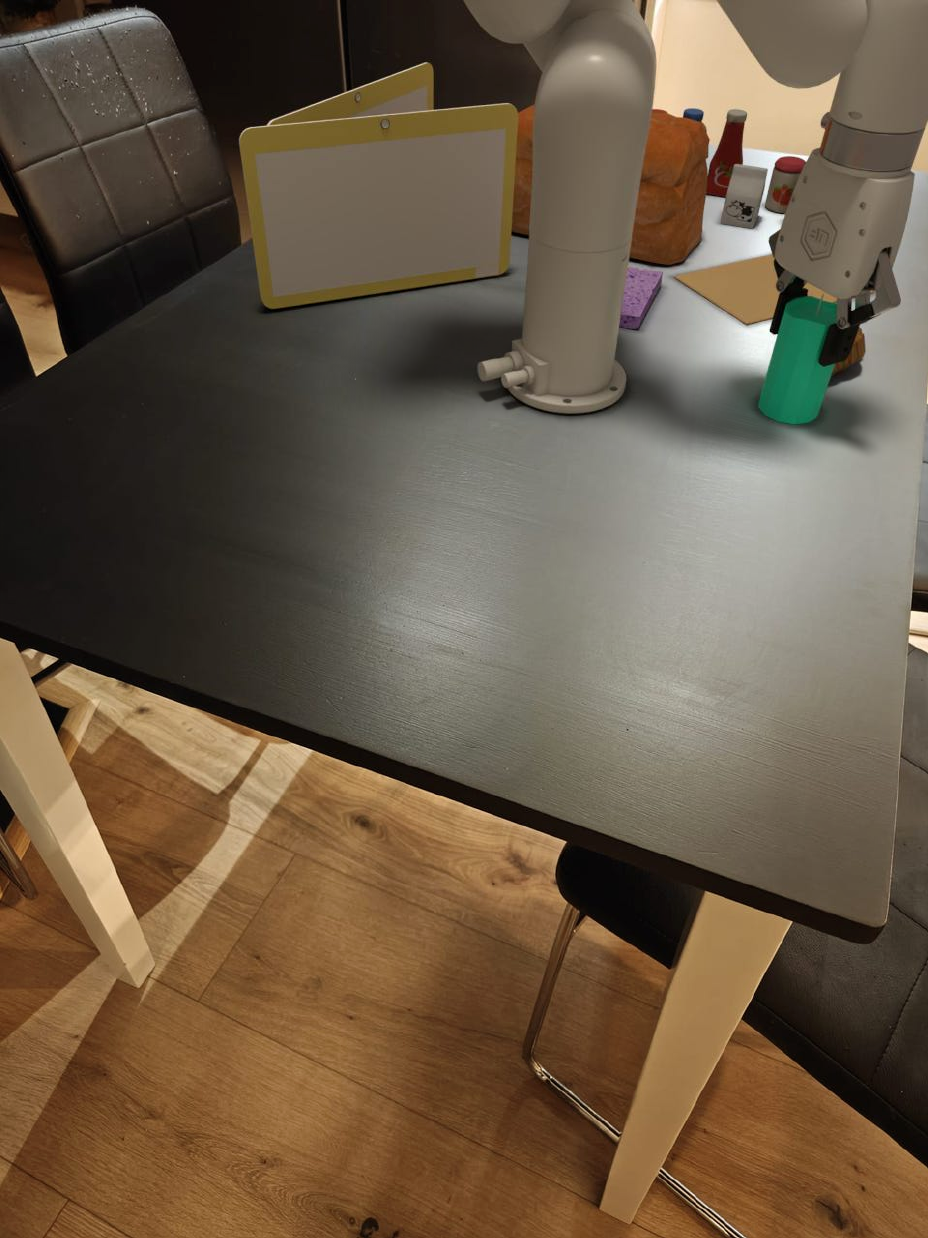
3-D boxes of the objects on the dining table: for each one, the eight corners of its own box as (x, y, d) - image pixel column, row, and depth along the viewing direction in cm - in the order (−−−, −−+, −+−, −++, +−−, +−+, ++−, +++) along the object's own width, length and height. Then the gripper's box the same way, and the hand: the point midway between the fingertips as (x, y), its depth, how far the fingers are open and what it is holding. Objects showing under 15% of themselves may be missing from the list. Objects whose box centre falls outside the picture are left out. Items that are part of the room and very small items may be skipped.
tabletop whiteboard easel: (410, 211, 127) (407, 51, 113) (547, 247, 119) (561, 79, 105) (244, 307, 105) (214, 123, 91) (398, 358, 98) (391, 165, 84)
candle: (808, 430, 89) (846, 315, 80) (749, 412, 91) (781, 298, 83) (825, 403, 92) (864, 290, 84) (768, 386, 95) (800, 274, 86)
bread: (675, 272, 114) (699, 143, 104) (486, 230, 123) (490, 107, 112) (707, 234, 123) (732, 111, 112) (529, 197, 132) (536, 80, 121)
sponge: (661, 286, 111) (663, 271, 110) (637, 331, 103) (640, 315, 102) (605, 276, 113) (607, 261, 112) (578, 319, 105) (580, 304, 103)
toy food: (623, 207, 130) (636, 114, 121) (645, 178, 138) (659, 90, 129) (813, 239, 123) (841, 143, 114) (825, 206, 131) (851, 115, 122)
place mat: (746, 325, 104) (747, 323, 104) (673, 277, 113) (674, 275, 113) (873, 292, 111) (874, 290, 111) (795, 249, 120) (796, 248, 120)
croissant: (831, 400, 93) (847, 355, 89) (771, 378, 96) (783, 334, 92) (880, 351, 100) (896, 308, 97) (822, 332, 103) (836, 290, 100)
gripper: (764, 120, 78) (719, 316, 91) (917, 185, 68) (842, 398, 80) (829, 109, 81) (776, 302, 94) (987, 171, 70) (903, 379, 83)
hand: (807, 344), depth 87 cm, fingers closed on candle, 6 cm apart
